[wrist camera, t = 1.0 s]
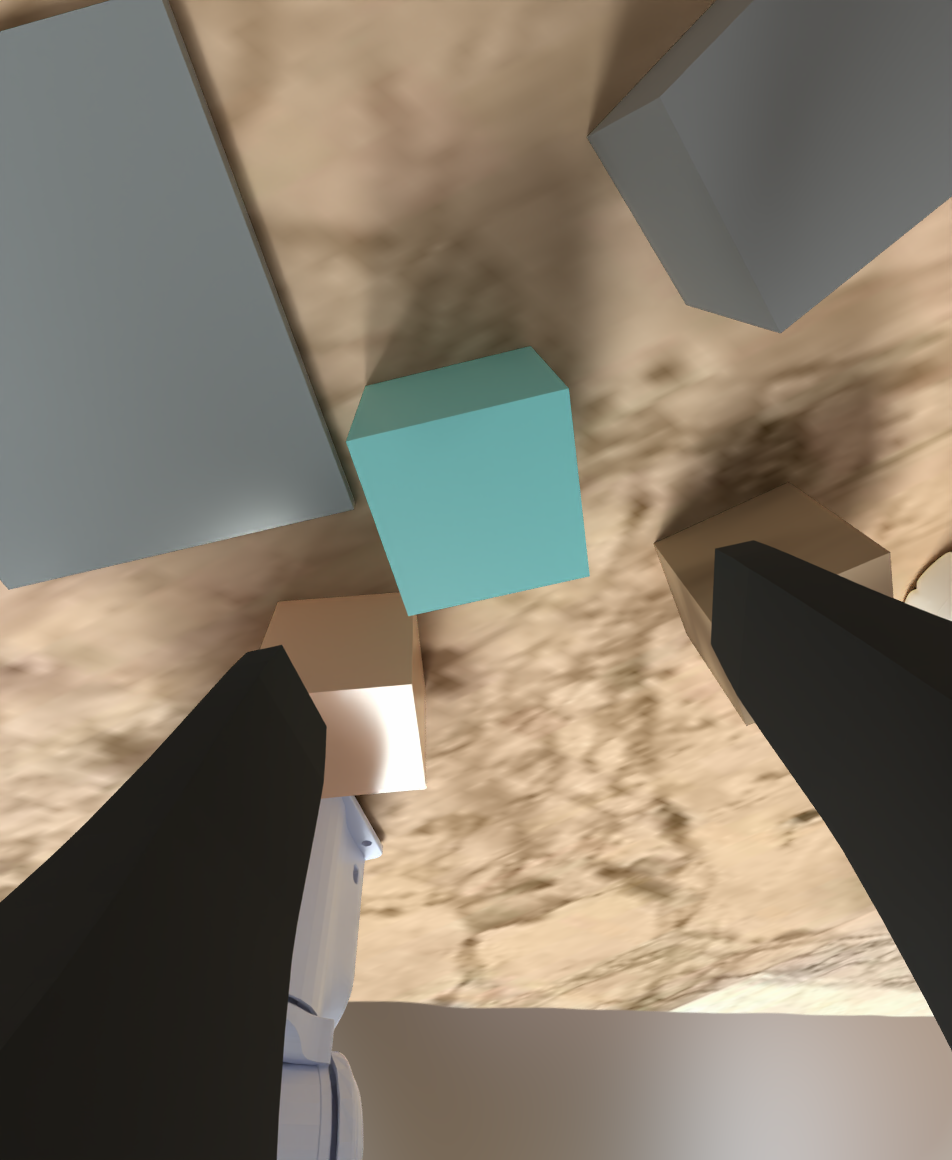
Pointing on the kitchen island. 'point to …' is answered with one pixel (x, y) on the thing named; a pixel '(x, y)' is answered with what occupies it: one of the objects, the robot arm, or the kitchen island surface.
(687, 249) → the charcoal block
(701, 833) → the kitchen island surface
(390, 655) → the terracotta block
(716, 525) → the walnut block
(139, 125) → the slate coaster
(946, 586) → the water bottle
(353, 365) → the kitchen island surface
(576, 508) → the teal block
